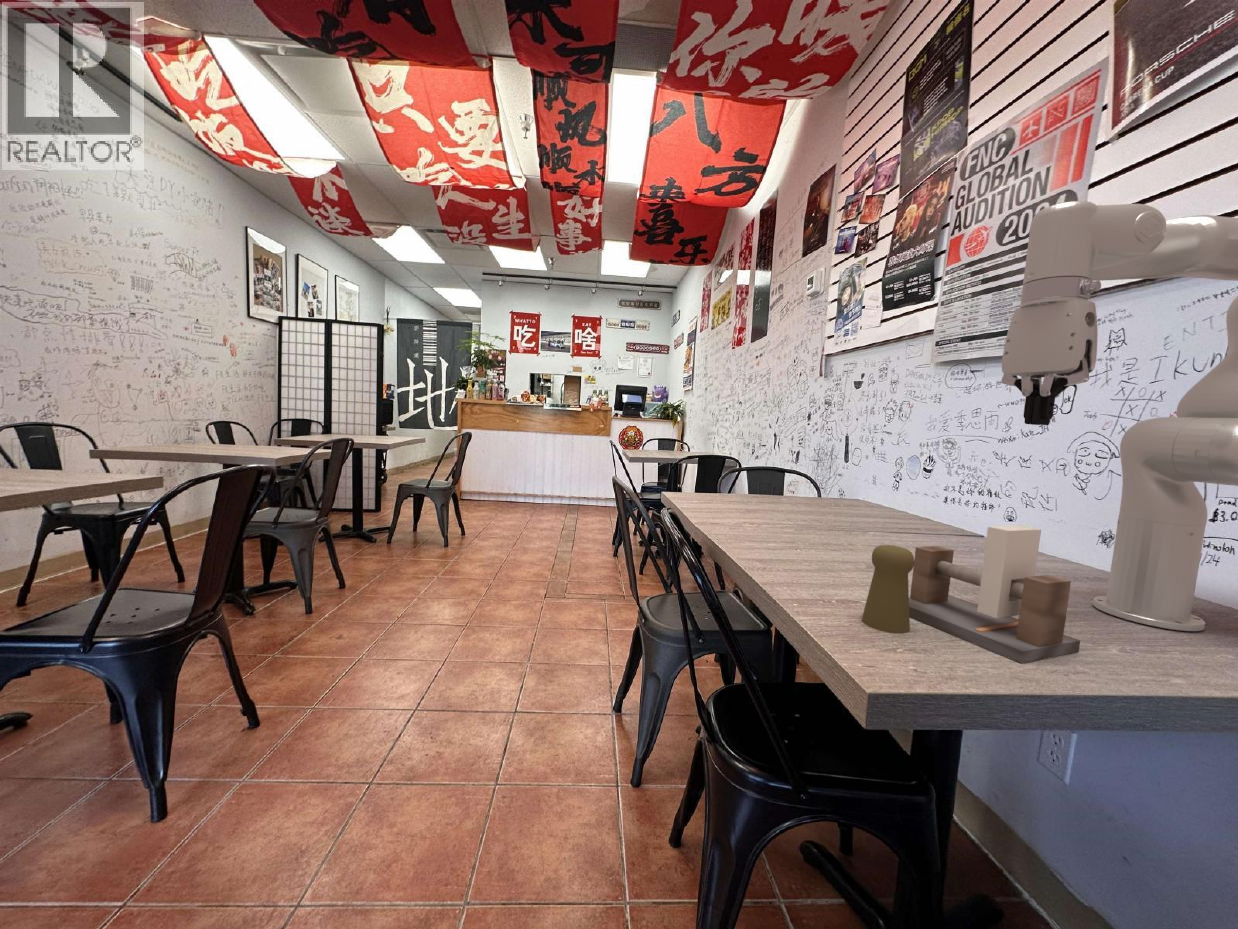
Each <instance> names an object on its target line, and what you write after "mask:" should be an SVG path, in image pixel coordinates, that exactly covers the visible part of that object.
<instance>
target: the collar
mask: <svg viewBox="0 0 1238 929" xmlns="http://www.w3.org/2000/svg"><path fill="white" fill-rule="evenodd" d="M986 532H987V533H986V540H985V546H984V555H983V560H982V561H983V563H982V570H981V572H982V577H981V585H980V586H979V594H978V602H977V605H978V608H977V612H980V613H983V614H986V615H989V616H991V617H994V618H1003V617H1010V616H1011V617H1017V616H1019V615H1020V607H1021V600H1022V599H1018V598H1015V597H1012V596H1010V597H1009V594H1010V587H1011V580H1014V581H1015V582H1018V583H1022V584H1024V578H1025V577H1032V576H1036V571H1037V564H1038V554H1039V551H1040V550H1039V549H1040V543H1041V542H1040V541H1041V540H1040V539H1041V534H1042V529H1041V528H1036V527H1030V526H1026V525H1000V526H999V525H998V526H996V525H995V526H993V525H992V526H988V527H987V531H986Z"/></svg>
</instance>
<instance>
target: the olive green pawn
mask: <svg viewBox="0 0 1238 929" xmlns="http://www.w3.org/2000/svg"><path fill="white" fill-rule="evenodd" d="M914 559H915V555H913V553H912V551H911V550H909V549H907V548H905V547H902V546H897V545H890V544H881V545H878V546H876V547H875V548H874V549H873V551H872V553H871V563H872V565H873V567H874V571H873V575H872V578H871V582H870V586H869V590H868V594H867V597H866V601H865V605H864V608H863V611H862V612H863V613H862V617H861V621H862V623H863V624H865V625H866V626H868V627H870V628H873V629H875V630H878V631H882V632H885V633H891V634H905V633H909V632H910V630H911V626H910V624H911V622H910V617H909V598H910V593H909V589H910V588H909V573H910V572H912V571H913V568H914Z"/></svg>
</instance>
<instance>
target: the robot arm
mask: <svg viewBox="0 0 1238 929" xmlns="http://www.w3.org/2000/svg"><path fill="white" fill-rule="evenodd" d="M1029 228H1030V229H1029V234H1028V242H1027V251H1026V257H1025V258H1026V259H1025V266H1024V272H1023V273H1024V274H1023V280H1022V281H1023V282H1022V290H1021V297H1020V305H1019V308H1016V309H1015V310H1014V313H1013V315H1012V318H1011V320H1010V323H1009V327H1008V331H1007V333H1006V338H1005V341H1004V342H1005V343H1004V347H1003V352H1002V358H1001V359H1002V360H1001V372H1002V373H1003V375H1002V378H1001V384H1003V385H1006V386H1012V387H1016V388H1017V389H1018V390H1019V392H1021V395H1022V396H1023V397H1025V400H1024V408H1023V419H1024V424H1025V425H1032V426H1033V425H1035V426H1049V425H1050V422H1051V420H1053V419H1052V418H1053V416H1054V410H1055V401H1056V398H1059V397H1060V396H1061V395H1062V394H1061V393H1062V392H1064V391H1065V390H1066V389H1068V388H1069V387H1070V386H1075V385H1079V384H1083V383H1087V382H1089V380H1090V373H1092V372H1093V371H1094V370H1095V367H1096V364H1097V352H1098V318H1097V317H1098V316H1097V306H1096V303H1095V302H1093V301H1089V299H1090V298H1091V294H1093V293H1094V292H1098V291H1100V290H1101V288H1102V282H1103V281H1119V280H1121V281H1122V280H1148V279H1150V280H1151V279H1161V278H1162V279H1163V278H1173V277H1174V278H1175V277H1177V278H1179V277H1180V278H1182V277H1183V278H1190V279H1191V278H1195V279H1196V278H1197V279H1207V280H1217V281H1218V280H1219V281H1221V280H1222V281H1233V282H1234V281H1237V282H1238V217H1229V216H1218V215H1212V214H1198V215H1192V216H1184V217H1177V218H1172V219H1168V220H1167V219H1166V218H1165V216H1164V214H1163V213H1162V212H1161V211H1160V210H1159V209H1157V208H1156V207H1153V206H1151V205H1148V204H1142V203H1124V204H1104V205H1103V204H1098V205H1097V204H1096V203H1095V202H1091V201H1087V200H1073V201H1072V200H1071V201H1065V202H1060V203H1057V204H1056V203H1055V204H1052V205H1049V206H1047V207H1045V208H1043V209H1040V211H1038V212H1037V213H1036V214H1035V215H1034V216H1033V218H1032V221H1031V223H1030V227H1029ZM1101 281H1102V282H1101ZM1225 320H1226V332H1227V333H1226V334H1227V335H1226V336H1227V347H1228V348H1227V355H1226V356H1225V357H1224V358H1223V359H1221V361H1220V362H1219V363H1218V364H1217V365H1216V366H1214V367H1213V368H1212V369H1211V370H1210V371H1209V372H1208V373H1207V374H1206V375H1204V376H1203V377H1202V378H1201V379H1200V380H1198V382H1197V383H1195V384H1194V385H1193V386H1192V387H1190V389H1189V390H1188V391H1187V392H1186V393H1185V394H1184V395H1183V396H1182V397H1181V399H1180V401H1179V402H1178V404H1177V407H1176V416H1165V417H1164V416H1163V417H1155V418H1148V419H1145V420H1142V421H1138V422H1137V423H1135V424H1133V425H1131V426H1130V427H1129V428H1128V429H1127V430H1126V431H1125V432H1124V433H1123V435H1122V437H1121V442H1120V446H1119V450H1120V451H1119V454H1120V463H1121V464H1120V465H1121V472H1122V473H1121V474H1122V477H1121V478H1122V486H1121V498H1120V507H1119V512H1118V518H1117V524H1116V531H1115V538H1114V545H1113V552H1112V559H1111V565H1110V566H1111V567H1110V572H1109V578H1108V585H1107V592H1106V595H1098V596H1095V597H1093V599H1092V605H1093V606H1094V608H1096V609H1097V610H1100V611H1101V612H1104V613H1105V614H1109V615H1112V616H1114V617H1117V618H1120V619H1124V620H1127V621H1130V622H1134V623H1138V624H1142V625H1146V626H1151V627H1156V628H1161V629H1168V630H1174V631H1180V632H1181V631H1184V632H1201V631H1203V630H1205V628H1206V627H1205V626H1206V621H1205V620H1204V619H1202V618H1201V617H1199V616H1197V615H1194V614H1192V609H1193V605H1194V602H1195V601H1196V596H1195V593H1196V587H1197V582H1198V575H1199V568H1200V563H1201V562H1200V561H1201V557H1202V551H1203V544H1204V538H1205V532H1206V526H1207V523H1208V522H1207V521H1208V506H1207V504H1206V501H1205V499H1204V497H1203V496H1202V494H1201V492H1200V491H1199V489H1198V487H1197V486H1196V484H1195V483H1205V484H1215V485H1222V486H1223V485H1224V486H1235V487H1238V295H1237V296H1236V297H1235V298H1234V299H1232V302H1231V303H1230V304H1229V306H1228V308H1227V312H1226V318H1225ZM1018 376H1019V377H1021V378H1019V377H1018ZM1042 378H1043V381H1042Z"/></svg>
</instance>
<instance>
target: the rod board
mask: <svg viewBox="0 0 1238 929" xmlns="http://www.w3.org/2000/svg"><path fill="white" fill-rule="evenodd" d="M914 550H915V553H914V566H913V569H912V577H911V588H910V593H909V618H911V619H913V620H915V619H916V621H918V622H920V623H923V624H925V625H927V626H931V627H932V626H933V627H932V628H935V629H937V630H940V631H942V630H943V632H945V633H947V634H949V633H950V634H949V635H952V636H954V637H956V638H959V637H960V638H959V639H961V640H963V641H966V640H967V641H966V642H968V641H969V643H971V644H973V643H975V644H974V645H976V644H977V645H976V646H978V647H981V648H982V649H985V650H987V651H989V652H993V653H995V654H998V655H1001V656H1002V655H1003V656H1002V657H1005V658H1007V657H1009V658H1010V659H1009V658H1008V659H1009V660H1012V661H1013V662H1017V661H1018V662H1017V663H1019V662H1020V663H1019V664H1025V662H1026V663H1031V662H1036V661H1040V660H1045V658H1046V659H1049V657H1051V658H1054V657H1059V655H1060V656H1065V655H1068V654H1074V653H1079V652H1080V647H1081V639H1078V638H1075V637H1072V636H1068V635H1066V634H1064V633H1065V626H1066V621H1067V620H1066V619H1067V612H1068V604H1069V599H1070V598H1069V597H1070V591H1071V583H1072V580H1069V579H1066V578H1062V577H1058V576H1054V575H1050V574H1042V575H1035V576H1032V577H1025V578H1024V584H1022V583H1018V582H1015V581H1014V580H1011V587H1010V594H1009V597H1010V596H1012V597H1015V598H1018V599H1022V600H1021V607H1020V615H1018V618H1016V617H1015V616H1010V617H1003V618H994V617H991V616H989V615H986V614H983V613H980V612H977V608H978V604H977V603H973V602H970V601H967V600H964V599H962V598H959V597H956V596H953V595H950V594H949V593H950V585H951V578H952V579H954V580H958V581H961V582H965V583H968V584H971V585H975V586H977V587H980V585H981V577H982V571H980V570H977V569H976V570H975V569H973V568H969V567H966V566H963V565H959V564H955V563H953V561H954V552H955V550H954V549H952V548H951V549H950V548H947V547H943V546H940V545H933V546H931V545H930V546H917V547H915V549H914ZM1029 661H1030V662H1029Z"/></svg>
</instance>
